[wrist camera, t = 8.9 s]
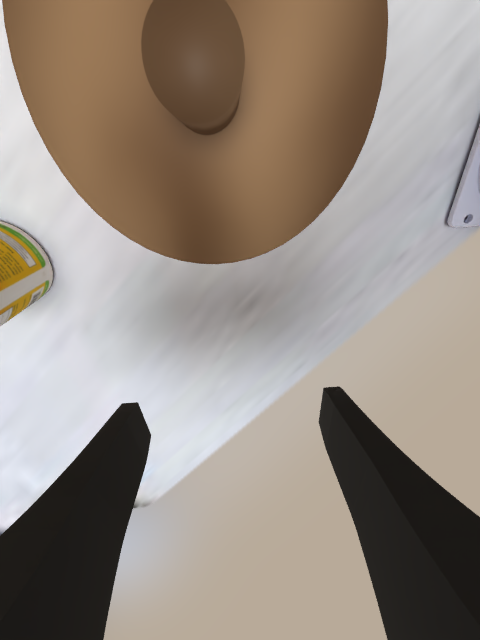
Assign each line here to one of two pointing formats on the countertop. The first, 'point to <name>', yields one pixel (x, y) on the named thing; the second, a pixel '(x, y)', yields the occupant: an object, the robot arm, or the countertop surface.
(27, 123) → the countertop surface
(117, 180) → the lid
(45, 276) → the supplement bottle
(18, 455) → the countertop surface
